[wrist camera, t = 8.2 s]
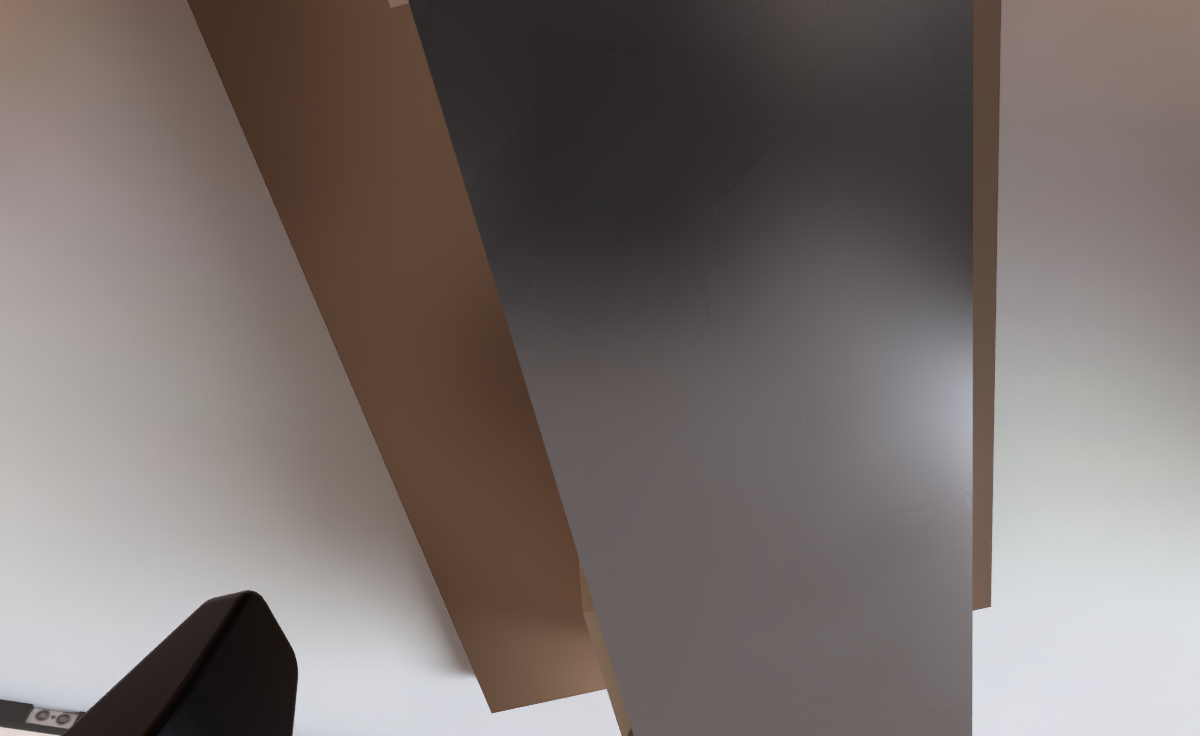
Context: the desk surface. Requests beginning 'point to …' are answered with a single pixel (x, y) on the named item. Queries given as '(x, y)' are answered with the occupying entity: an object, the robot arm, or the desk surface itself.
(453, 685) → the desk surface
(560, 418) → the grey long block
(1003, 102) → the desk surface
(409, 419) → the tool rack
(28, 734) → the cell phone
